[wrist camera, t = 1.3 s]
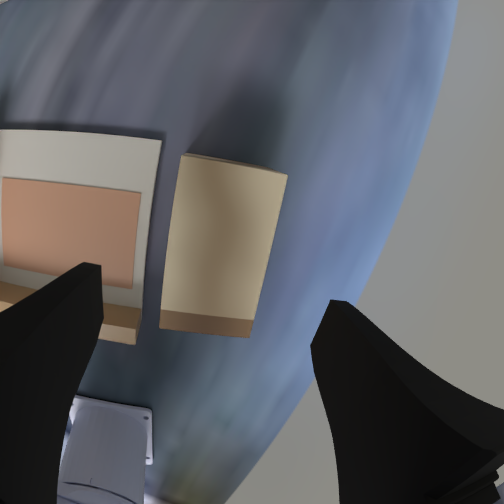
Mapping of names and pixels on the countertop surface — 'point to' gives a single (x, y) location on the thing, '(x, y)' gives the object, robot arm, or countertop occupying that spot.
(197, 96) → the countertop surface
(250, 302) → the maple block
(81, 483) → the robot arm
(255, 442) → the countertop surface
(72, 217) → the arena
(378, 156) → the countertop surface
